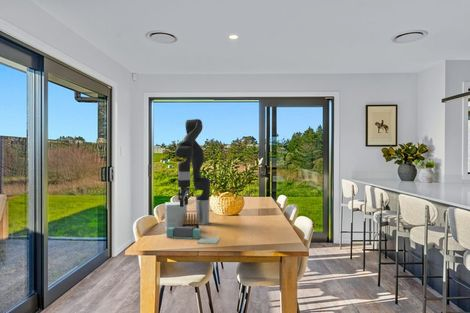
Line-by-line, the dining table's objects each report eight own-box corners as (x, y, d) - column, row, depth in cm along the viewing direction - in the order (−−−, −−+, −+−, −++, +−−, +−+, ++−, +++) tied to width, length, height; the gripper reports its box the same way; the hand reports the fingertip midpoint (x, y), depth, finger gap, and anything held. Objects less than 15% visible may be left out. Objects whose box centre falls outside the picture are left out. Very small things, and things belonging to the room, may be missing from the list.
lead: (176, 236, 200) (176, 226, 200) (193, 236, 199) (193, 227, 199) (174, 237, 196) (174, 227, 196) (191, 238, 195) (191, 228, 195)
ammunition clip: (182, 232, 210) (182, 213, 210) (182, 231, 212) (182, 213, 212) (198, 231, 211) (198, 213, 211) (198, 231, 213) (198, 212, 213)
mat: (202, 237, 196) (202, 236, 196) (220, 238, 194) (220, 237, 194) (197, 243, 184) (197, 242, 184) (216, 244, 182) (216, 243, 182)
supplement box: (183, 226, 226) (183, 201, 226) (186, 230, 214) (187, 204, 214) (164, 227, 222) (164, 202, 222) (166, 232, 210) (166, 205, 210)
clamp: (170, 234, 203) (170, 226, 203) (201, 236, 200) (201, 228, 200) (165, 237, 195) (165, 229, 195) (198, 239, 192) (198, 230, 192)
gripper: (181, 178, 205) (181, 203, 205) (174, 179, 191) (174, 207, 191) (193, 178, 204) (193, 204, 204) (186, 180, 190) (186, 207, 190)
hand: (183, 205), depth 197 cm, fingers open, 8 cm apart
